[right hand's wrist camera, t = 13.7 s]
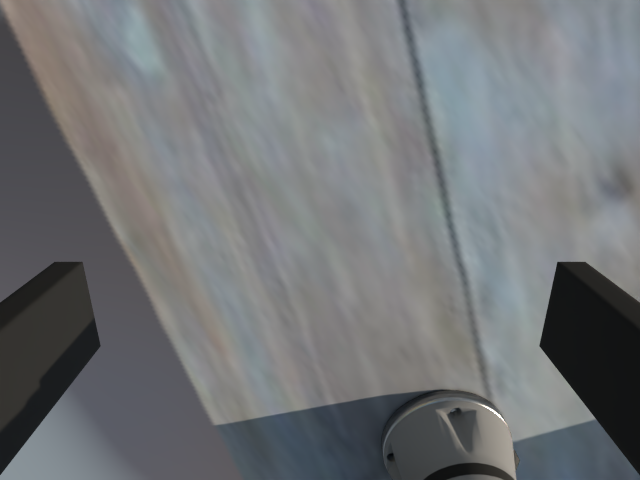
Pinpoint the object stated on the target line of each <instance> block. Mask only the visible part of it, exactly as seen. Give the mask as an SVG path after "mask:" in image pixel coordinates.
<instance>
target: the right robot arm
mask: <svg viewBox="0 0 640 480" xmlns="http://www.w3.org/2000/svg"><path fill="white" fill-rule="evenodd" d="M99 347H100V342H99V337H98V332H97V328H96V323H95V318H94V314H93V309H92V304H91V300H90V295H89V290H88V286H87V281H86V276H85V272H84V267H83V263H82V262H54V263H53V264H51V265H50V266H49V267H47V268H46V269H45V270H43V271H42V272H41V273H39V274H38V275H37V276H35V277H34V278H33V279H31V280H30V281H29V282H27V283H26V284H25V285H23V286H22V287H21V288H19V289H18V290H17V291H15V292H14V293H13V294H11V295H10V296H9V297H7V298H6V299H4V300H3V301H2V302H0V475H1V473H2V472H3V471H4V470H5V468H6V467H7V466H8V464H9V463H10V462H11V460H12V459H13V458H14V457H15V455H16V454H17V453H18V451H19V450H20V449H21V448H22V446H23V445H24V444H25V442H26V441H27V440H28V439H29V437H30V436H31V435H32V434H33V432H34V431H35V430H36V428H37V427H38V426H39V425H40V423H41V422H42V421H43V419H44V418H45V417H46V416H47V414H48V413H49V412H50V410H51V409H52V408H53V406H54V405H55V404H56V403H57V401H58V400H59V399H60V397H61V396H62V395H63V394H64V392H65V391H66V390H67V388H68V387H69V386H70V385H71V383H72V382H73V381H74V379H75V378H76V377H77V376H78V374H79V373H80V372H81V370H82V369H83V368H84V366H85V365H86V364H87V363H88V361H89V360H90V359H91V358H92V356H93V355H94V354H95V352H96V351H97V350H98V349H99ZM540 347H541V349H542V350H543V351H544V352H545V354H546V355H547V356H548V358H549V359H550V360H551V361H552V363H553V364H554V365H555V367H556V368H557V369H558V370H559V372H560V373H561V374H562V376H563V377H564V378H565V379H566V381H567V382H568V383H569V385H570V386H571V387H572V388H573V390H574V391H575V392H576V394H577V395H578V396H579V397H580V399H581V400H582V401H583V403H584V404H585V405H586V406H587V408H588V409H589V410H590V412H591V413H592V414H593V416H594V417H595V418H596V419H597V421H598V422H599V423H600V425H601V426H602V427H603V428H604V430H605V431H606V432H607V434H608V435H609V436H610V437H611V439H612V440H613V441H614V443H615V444H616V445H617V446H618V448H619V449H620V450H621V452H622V453H623V454H624V455H625V457H626V458H627V459H628V461H629V462H630V463H631V464H632V466H633V467H634V468H635V470H636V471H637V472H638V473H639V475H640V302H638V301H637V300H636V299H634V298H633V297H631V296H630V295H629V294H627V293H626V292H625V291H623V290H622V289H621V288H619V287H618V286H617V285H615V284H614V283H613V282H611V281H610V280H609V279H607V278H606V277H605V276H603V275H602V274H601V273H599V272H598V271H597V270H595V269H594V268H593V267H591V266H590V265H589V264H587V263H586V262H557V267H556V271H555V276H554V281H553V285H552V290H551V295H550V299H549V304H548V309H547V313H546V318H545V323H544V327H543V332H542V337H541V341H540ZM381 445H382V453H383V459H384V463H385V466H386V469H387V471H388V473H389V475H390V477H391V478H392V480H516V472H515V471H516V469H517V466H518V464H519V461H520V460H519V458H518V456H517V454H516V452H515V450H514V451H513V442H512V436H511V432H510V430H509V428H508V426H507V424H506V422H505V420H504V418H503V416H502V414H501V413H500V411H499V410H498V409H497V408H496V407H495V406H494V405H493V404H492V403H491V402H489V401H488V400H486V399H484V398H482V397H481V396H478V395H476V394H472V393H469V392H464V391H456V390H446V391H437V392H432V393H428V394H424V395H422V396H419V397H417V398H415V399H413V400H411V401H409V402H407V403H406V404H404V405H403V406H402V407H400V408H399V409H398V410H397V411H396V412H395V413H394V414H393V415H392V416H391V418H390V419H389V421H388V422H387V424H386V426H385V428H384V431H383V434H382V441H381Z"/></svg>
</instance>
